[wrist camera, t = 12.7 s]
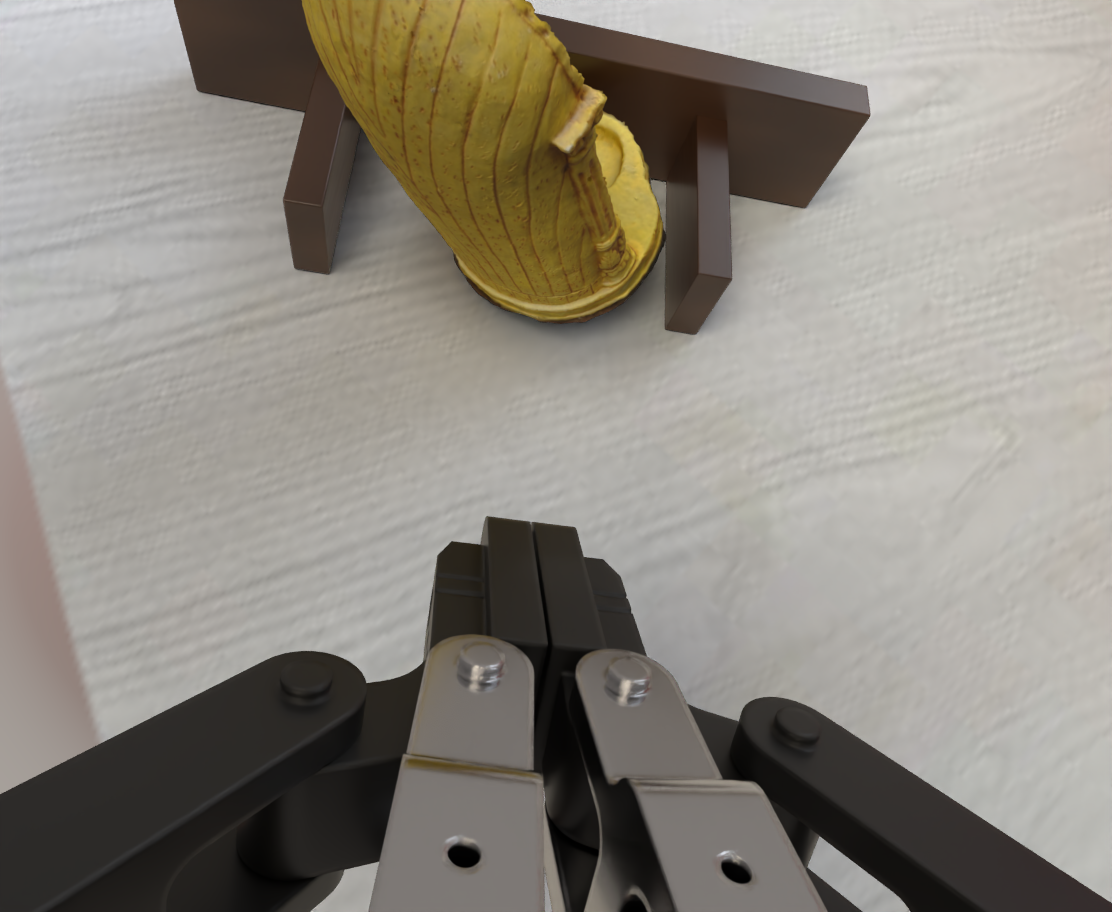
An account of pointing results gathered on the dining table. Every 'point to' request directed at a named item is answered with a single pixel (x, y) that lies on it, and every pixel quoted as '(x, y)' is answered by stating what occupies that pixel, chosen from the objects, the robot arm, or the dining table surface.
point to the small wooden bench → (632, 97)
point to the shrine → (498, 148)
